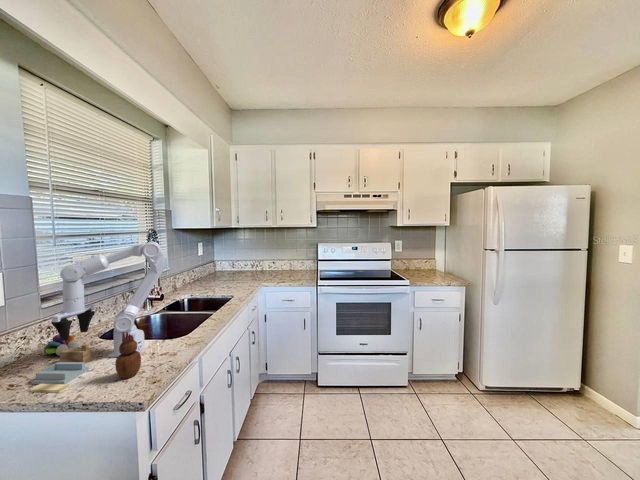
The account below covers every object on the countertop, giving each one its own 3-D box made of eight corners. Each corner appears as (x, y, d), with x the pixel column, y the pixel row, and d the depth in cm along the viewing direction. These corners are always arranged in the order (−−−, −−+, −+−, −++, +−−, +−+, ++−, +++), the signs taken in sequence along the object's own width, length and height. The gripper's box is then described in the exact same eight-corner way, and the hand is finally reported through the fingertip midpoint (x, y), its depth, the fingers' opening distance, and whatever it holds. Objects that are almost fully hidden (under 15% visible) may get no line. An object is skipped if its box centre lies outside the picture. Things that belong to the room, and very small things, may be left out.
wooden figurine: (121, 383, 87) (120, 335, 86) (112, 377, 90) (111, 331, 89) (144, 373, 92) (143, 328, 92) (135, 369, 95) (135, 325, 95)
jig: (88, 369, 94) (88, 361, 94) (64, 384, 86) (64, 374, 85) (59, 369, 95) (59, 360, 94) (31, 384, 86) (31, 374, 85)
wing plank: (69, 388, 84) (69, 384, 84) (59, 394, 81) (59, 390, 81) (40, 387, 85) (40, 383, 85) (29, 393, 82) (29, 389, 82)
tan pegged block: (91, 360, 102) (91, 343, 102) (83, 364, 98) (82, 347, 98) (69, 360, 102) (69, 343, 102) (60, 364, 98) (60, 347, 98)
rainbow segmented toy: (82, 347, 112) (82, 330, 112) (57, 358, 103) (57, 339, 103) (63, 346, 113) (63, 329, 113) (37, 357, 104) (36, 338, 103)
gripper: (80, 293, 107) (81, 328, 108) (42, 303, 93) (43, 343, 93) (98, 293, 107) (99, 328, 107) (63, 303, 92) (64, 343, 93)
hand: (74, 335), depth 100 cm, fingers open, 7 cm apart
